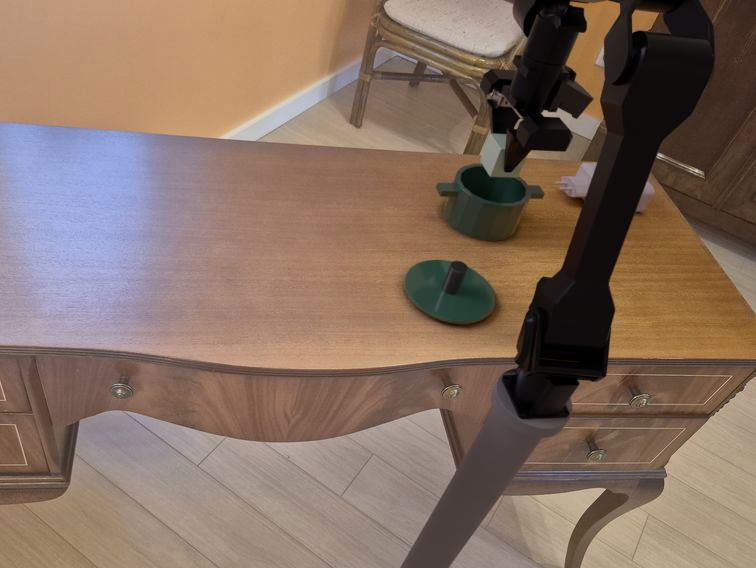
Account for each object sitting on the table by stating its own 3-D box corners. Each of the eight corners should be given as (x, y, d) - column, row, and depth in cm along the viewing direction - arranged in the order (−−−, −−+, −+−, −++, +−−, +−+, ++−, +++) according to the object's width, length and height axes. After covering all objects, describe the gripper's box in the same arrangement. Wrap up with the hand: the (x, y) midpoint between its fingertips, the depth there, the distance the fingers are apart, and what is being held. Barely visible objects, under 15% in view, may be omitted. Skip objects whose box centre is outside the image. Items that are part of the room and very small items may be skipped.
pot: (541, 241, 96) (559, 207, 92) (439, 240, 93) (452, 204, 89) (514, 199, 104) (529, 165, 99) (419, 196, 101) (430, 161, 96)
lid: (506, 326, 82) (520, 298, 78) (416, 327, 80) (427, 299, 76) (475, 265, 90) (487, 237, 86) (393, 265, 88) (402, 236, 84)
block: (518, 177, 91) (530, 150, 88) (489, 177, 90) (500, 149, 87) (507, 161, 94) (518, 134, 91) (479, 160, 93) (490, 133, 90)
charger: (540, 183, 108) (615, 184, 111) (563, 214, 102) (642, 214, 105) (551, 159, 105) (629, 160, 108) (575, 189, 99) (657, 190, 102)
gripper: (635, 91, 75) (578, 200, 86) (570, 32, 87) (527, 134, 99) (552, 87, 73) (504, 198, 85) (497, 26, 86) (462, 131, 97)
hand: (501, 163), depth 91 cm, fingers closed on block, 4 cm apart
